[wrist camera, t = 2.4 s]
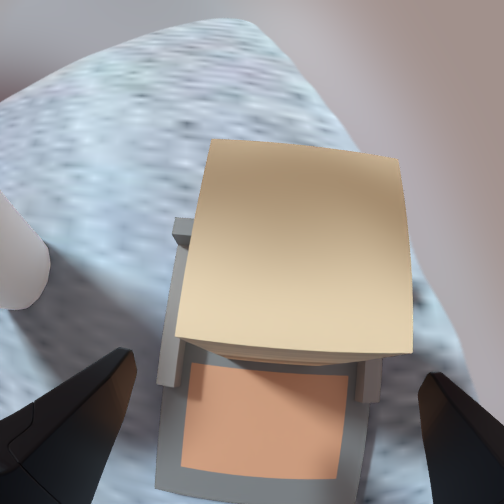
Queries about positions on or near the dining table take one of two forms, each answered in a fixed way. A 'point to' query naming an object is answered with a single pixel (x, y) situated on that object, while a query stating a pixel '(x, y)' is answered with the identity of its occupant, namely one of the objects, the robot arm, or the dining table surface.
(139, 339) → the dining table surface
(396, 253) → the beech block
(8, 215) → the foam cup
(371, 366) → the tray
